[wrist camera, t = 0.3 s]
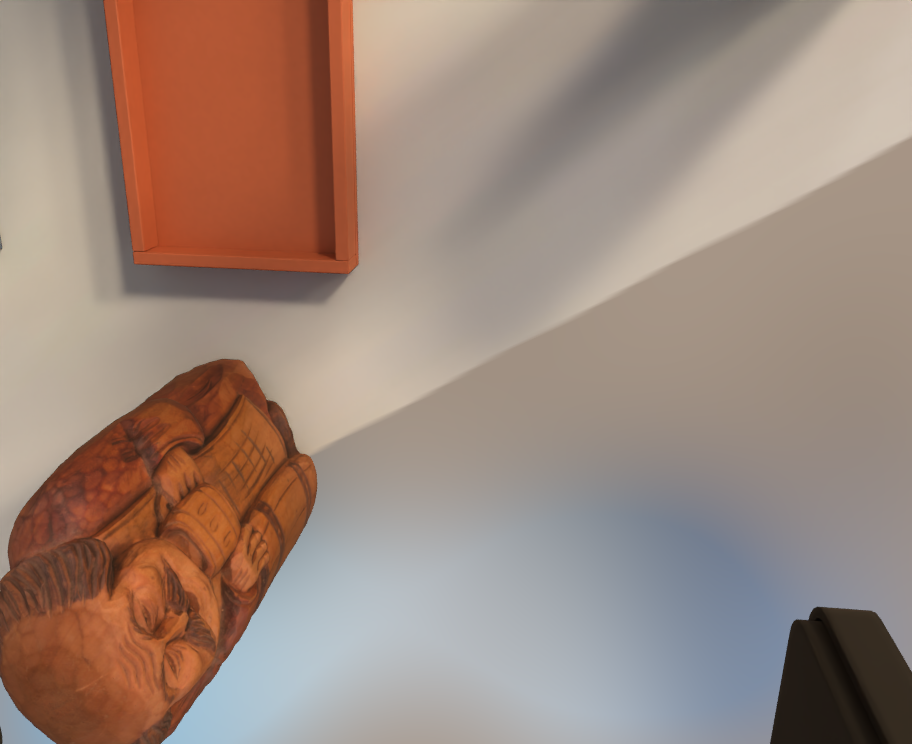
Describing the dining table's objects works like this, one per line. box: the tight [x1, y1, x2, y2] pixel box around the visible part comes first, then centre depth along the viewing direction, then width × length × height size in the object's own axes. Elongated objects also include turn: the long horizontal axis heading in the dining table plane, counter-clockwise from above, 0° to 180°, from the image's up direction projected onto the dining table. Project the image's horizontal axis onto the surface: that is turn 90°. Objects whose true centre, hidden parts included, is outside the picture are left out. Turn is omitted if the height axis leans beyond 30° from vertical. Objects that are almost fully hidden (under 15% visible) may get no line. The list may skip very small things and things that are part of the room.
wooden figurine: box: [0, 359, 317, 744], centre depth 35 cm, size 12×6×18 cm, turn 24°
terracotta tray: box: [103, 0, 358, 274], centre depth 35 cm, size 21×10×2 cm, turn 179°
